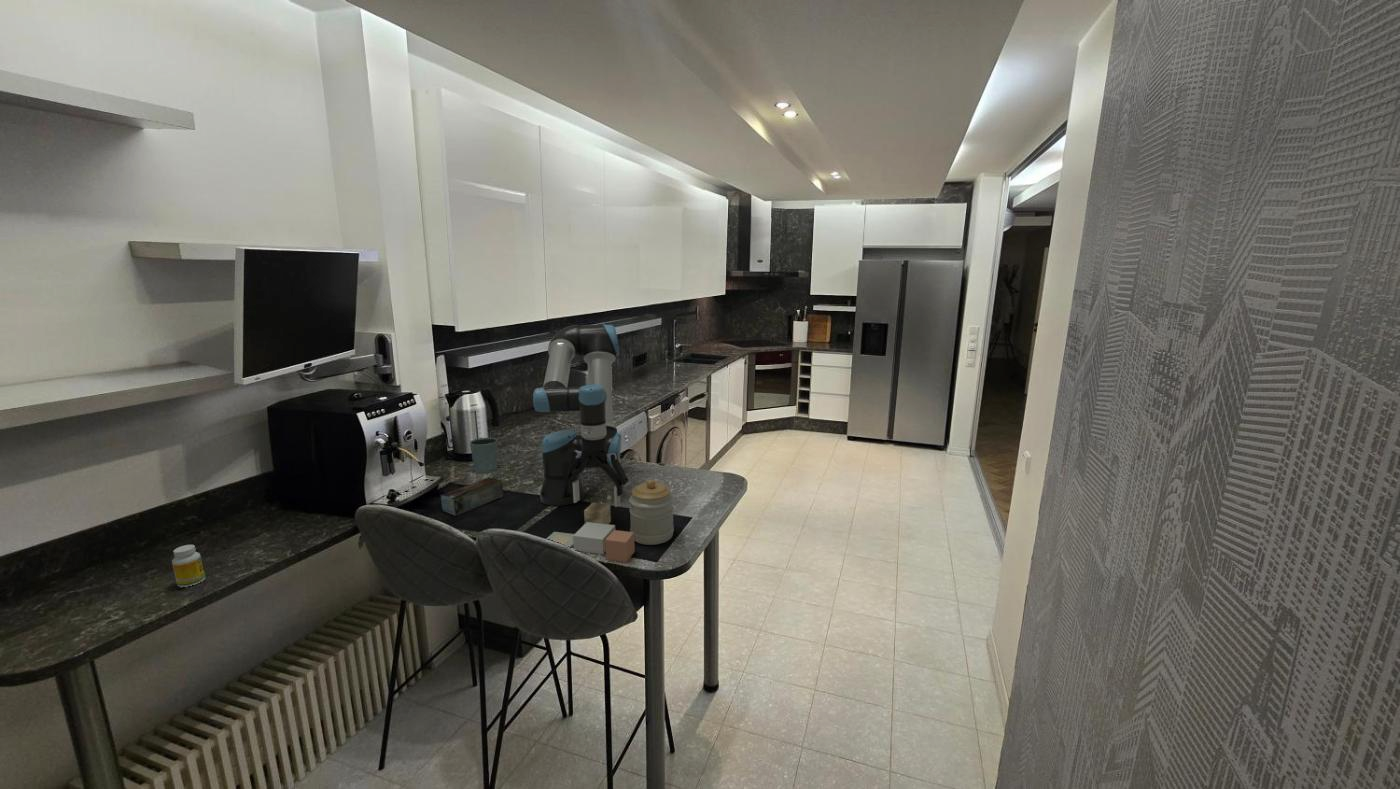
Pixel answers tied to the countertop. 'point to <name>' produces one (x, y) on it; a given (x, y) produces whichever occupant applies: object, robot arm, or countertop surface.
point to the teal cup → (484, 454)
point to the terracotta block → (620, 546)
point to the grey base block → (592, 537)
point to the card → (562, 538)
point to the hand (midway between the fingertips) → (596, 503)
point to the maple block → (598, 513)
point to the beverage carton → (472, 496)
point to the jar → (651, 513)
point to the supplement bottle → (187, 566)
